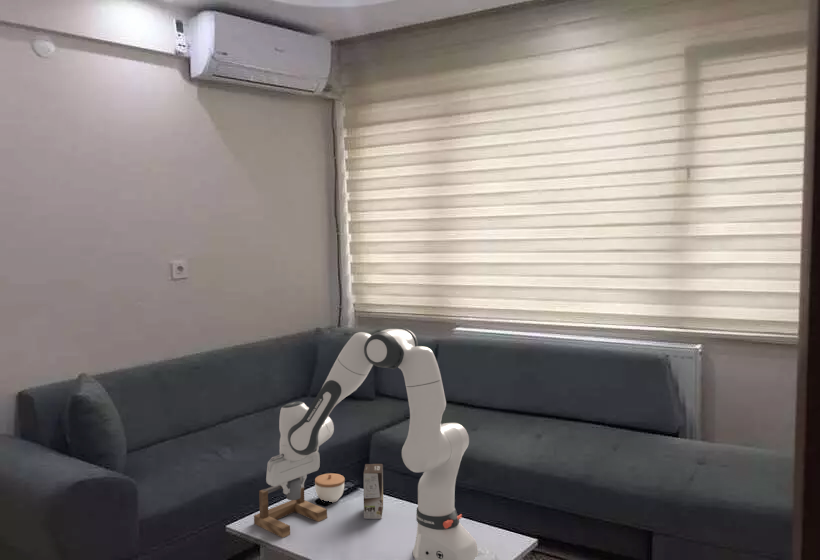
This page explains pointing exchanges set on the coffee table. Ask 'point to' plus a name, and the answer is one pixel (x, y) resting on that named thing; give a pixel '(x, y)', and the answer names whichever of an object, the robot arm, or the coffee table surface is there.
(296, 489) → the grey cylinder
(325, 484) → the lidded jar
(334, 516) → the coffee table surface
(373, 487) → the coffee box
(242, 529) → the coffee table surface
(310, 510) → the wooden crossbar stand
